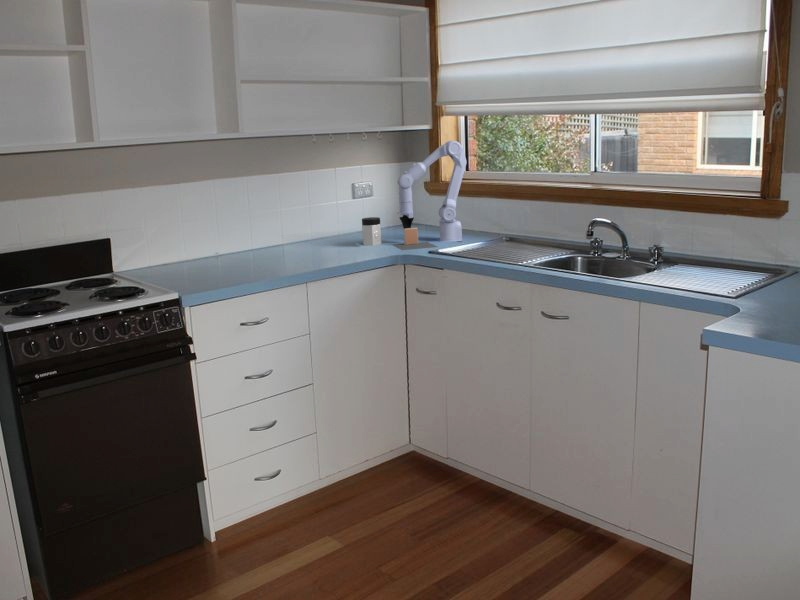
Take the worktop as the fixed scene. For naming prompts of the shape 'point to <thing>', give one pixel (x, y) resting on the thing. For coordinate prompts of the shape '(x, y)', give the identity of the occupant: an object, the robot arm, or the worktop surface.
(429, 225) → the worktop surface
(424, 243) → the mat
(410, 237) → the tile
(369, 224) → the jar
